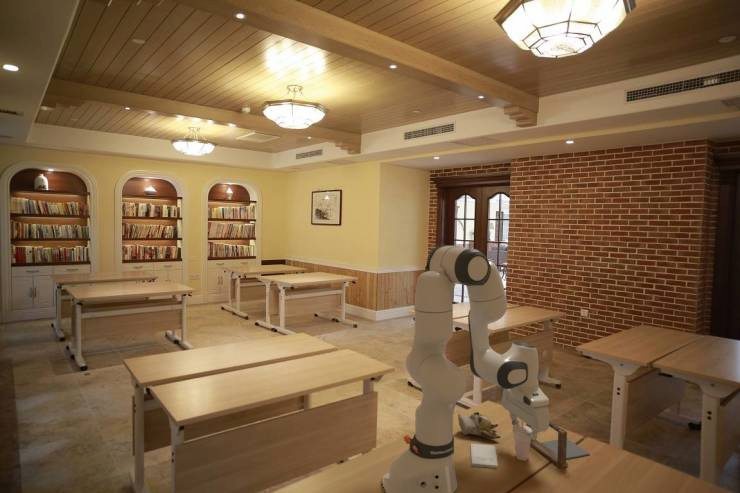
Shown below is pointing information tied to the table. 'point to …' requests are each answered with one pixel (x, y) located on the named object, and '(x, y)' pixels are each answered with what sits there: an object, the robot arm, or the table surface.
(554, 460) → the bar hurdle
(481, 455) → the external hard drive
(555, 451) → the mat
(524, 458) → the smoothie
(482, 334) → the robot arm
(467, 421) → the ceramic sculpture
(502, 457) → the table surface
